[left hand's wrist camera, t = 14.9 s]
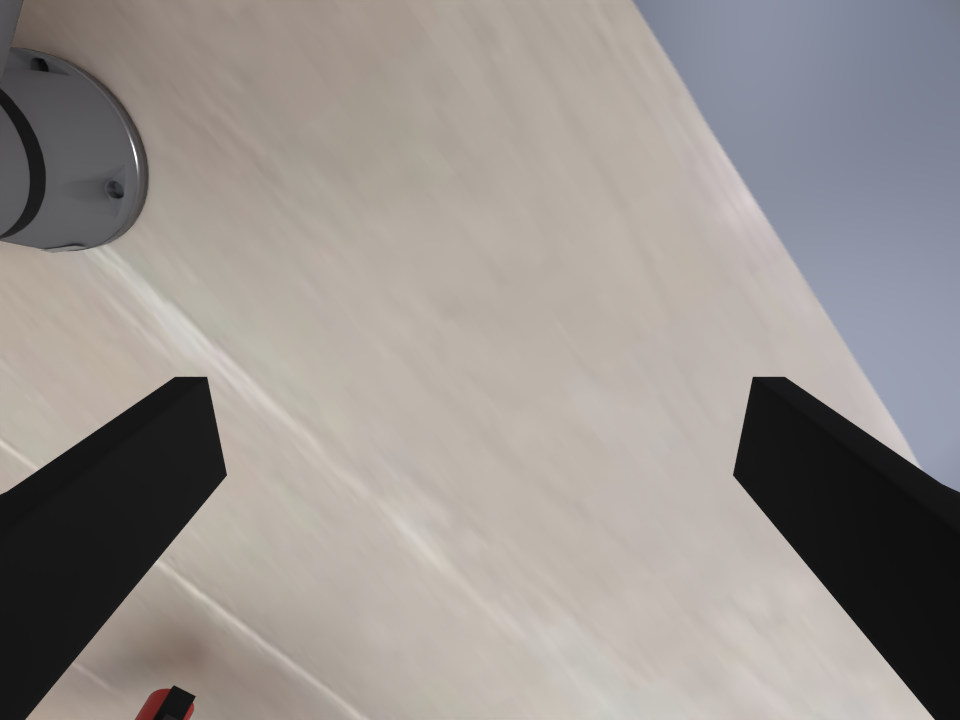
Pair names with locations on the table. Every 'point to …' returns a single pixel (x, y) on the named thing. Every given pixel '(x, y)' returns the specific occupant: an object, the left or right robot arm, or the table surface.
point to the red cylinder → (157, 706)
